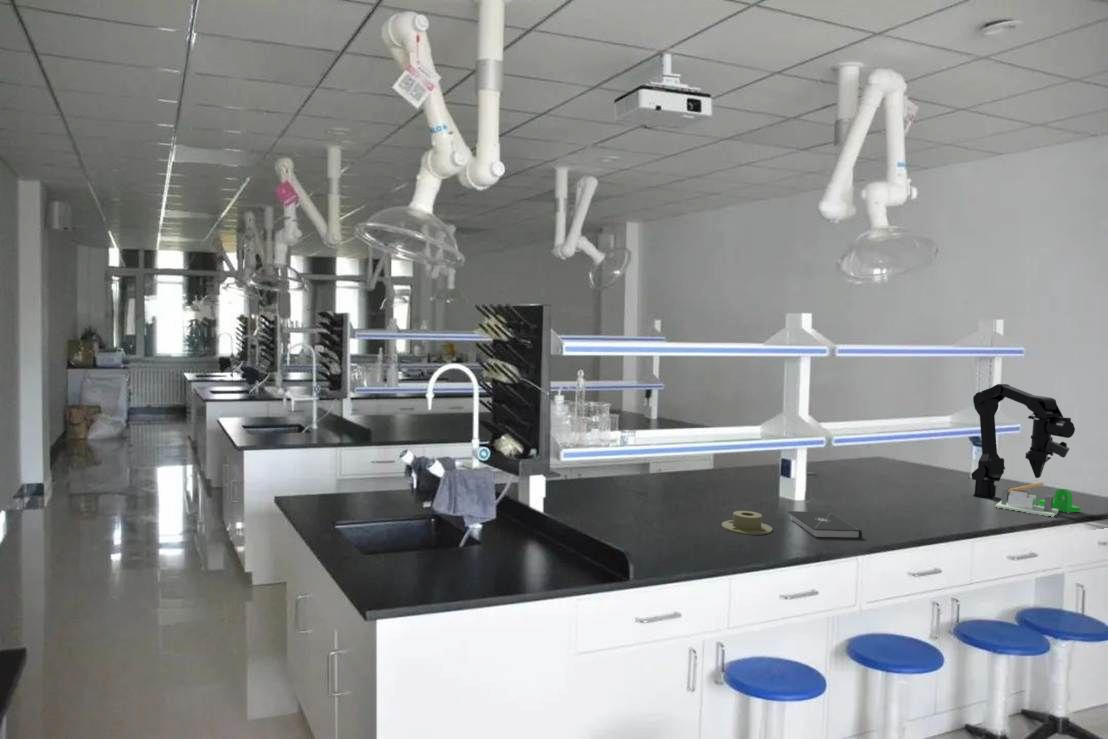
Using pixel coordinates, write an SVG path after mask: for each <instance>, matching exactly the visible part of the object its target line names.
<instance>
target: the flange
mask: <svg viewBox="0 0 1108 739" xmlns="http://www.w3.org/2000/svg"><path fill="white" fill-rule="evenodd" d="M732 514H733V515H732V520H731V519H729V520H725V521H723V522H721V527H722V528H723V529H725V530H726V531H729V532H732V533H736V534H741V535H742V534H743V535H751V536H758V535H759V536H761V535H763V536H764V535H767V534H771V533H772V532H773V527H772V526H770V525H768V524H766V523H763V522H762V520H763V515H762V514H761V513H759V512H756V511H750V510H748V511H747V510H737V511H735V510H734V511H733V513H732Z"/></svg>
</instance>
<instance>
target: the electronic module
mask: <svg viewBox="0 0 1108 739" xmlns="http://www.w3.org/2000/svg"><path fill="white" fill-rule="evenodd" d="M1008 489H1011V487H1007V486H1004V488H1002V492H1001V499H1000V501H1001V504H1004V505H1007V503H1008V506H1012V507H1019V508H1025V509H1031V510H1032V509H1033V508H1034V507H1035V505H1036V504H1037V503H1036V500H1037V495H1036V494H1031V490H1030V489H1022V490H1017V491H1014V490H1011V492H1008ZM1044 500H1045V504H1044V511H1049V512H1051V511H1052V507H1053V500H1054V495H1049V494H1046V495H1045V496H1044Z"/></svg>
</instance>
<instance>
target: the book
mask: <svg viewBox="0 0 1108 739" xmlns="http://www.w3.org/2000/svg"><path fill="white" fill-rule="evenodd" d="M787 513H788V514H789V515H791V517H790V520H791V521H792V522H794V523H795V524H797V525H798V526H800V527H801V528H802V529H804V530H805V531H806V532H808V533H809V534H811V535H812V536H813V537H815V538H817V537H818V538H820V537H821V538H854V539H855V538H857V539H862V537H863V533H862V529H860V528H859V527H857V526H855V525H854V524H851V522H848V521H846V520H845V519H844V518H842V517H840V516H839V515H837V514H835V513H833V512H831V511H803V510H802V511H797V510H796V511H795V510H788V511H787Z"/></svg>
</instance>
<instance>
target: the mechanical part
mask: <svg viewBox="0 0 1108 739" xmlns="http://www.w3.org/2000/svg"><path fill="white" fill-rule="evenodd" d="M1063 497H1064V498H1063ZM1038 504H1039V505H1038V506H1041V505H1042V506H1044V504H1045V499H1038ZM1052 508H1057V509H1059V510H1060V511H1059V512H1061V511H1064V512H1063V513H1065V512H1079V511H1080V512H1081V509H1082V508H1081V507H1080V506H1076V505H1074V504H1073V494H1072V492H1071V491H1070V490H1069V489H1067V488H1066V489H1065V488H1063V489H1062V488H1061V489H1057V490H1056V491H1055V493H1054V496H1053V507H1052Z"/></svg>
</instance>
